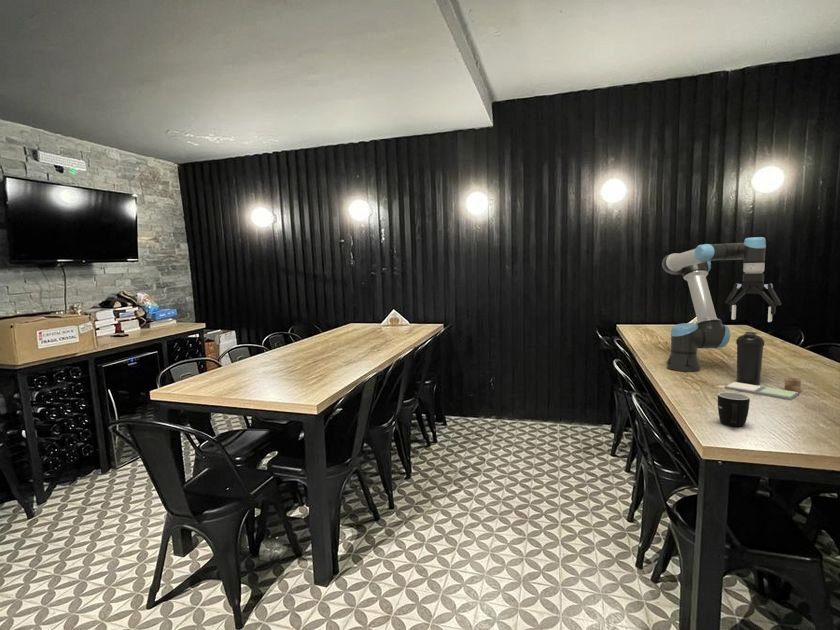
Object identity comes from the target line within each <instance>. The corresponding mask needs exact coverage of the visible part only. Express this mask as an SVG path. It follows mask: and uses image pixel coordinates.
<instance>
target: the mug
mask: <svg viewBox="0 0 840 630" xmlns="http://www.w3.org/2000/svg"><path fill="white" fill-rule="evenodd" d="M750 400H751V399H750V396H749V395H746V394H744V393H740V392H735V391H734V392H733V391H722V392H719V393H717V412H718V417H719V420H720V423H721V424H722V425H724V426H726V427H731V428H742V427H744V426H745V424H746V423H747V420H748V415H749V410H750V409H749V408H750V402H751V401H750Z"/></svg>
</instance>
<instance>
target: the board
mask: <svg viewBox="0 0 840 630" xmlns="http://www.w3.org/2000/svg"><path fill="white" fill-rule="evenodd" d="M724 388H725V390H729V389H730V391H734V392H735V391H736V392H741V393H742V392H743V393H748V394H753V395H759V396H765V397H770V398H775V399H780V400H781V399H782V400H788V401H793V400H794V399H795V398H796V397H798V396H800V393H797V392H793V391H787V390H785V389H781V388H773V387H770V386H769V387H767V386H760V385H750V384H744V383H738V382H737V381H733V382H731V383H729V384H727V385H726V386H724Z"/></svg>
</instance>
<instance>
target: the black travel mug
mask: <svg viewBox="0 0 840 630" xmlns="http://www.w3.org/2000/svg"><path fill="white" fill-rule="evenodd" d="M735 342H736V343H735V344H736V382H738V383H744V384H750V385H757V386H760V385H761V375H762V364H763V355H764V354H763V353H764V347H765V340H764V338H763V337H762V336H760V335H758V332H755V331H752V332H751V331H745V332H744V334H742V335H740V336H738V337H737V338H736V341H735Z"/></svg>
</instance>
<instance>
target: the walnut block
mask: <svg viewBox="0 0 840 630" xmlns="http://www.w3.org/2000/svg"><path fill="white" fill-rule="evenodd" d="M801 383H802V380H801V378H795V377H787V376H786V377H784V389H783V390H787V391H793V392H798V393H799V394H801V387H802V386H801V385H802V384H801Z"/></svg>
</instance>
